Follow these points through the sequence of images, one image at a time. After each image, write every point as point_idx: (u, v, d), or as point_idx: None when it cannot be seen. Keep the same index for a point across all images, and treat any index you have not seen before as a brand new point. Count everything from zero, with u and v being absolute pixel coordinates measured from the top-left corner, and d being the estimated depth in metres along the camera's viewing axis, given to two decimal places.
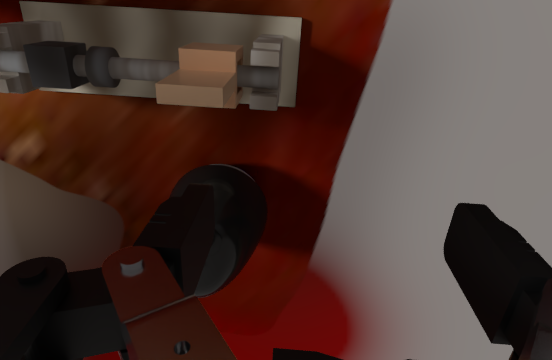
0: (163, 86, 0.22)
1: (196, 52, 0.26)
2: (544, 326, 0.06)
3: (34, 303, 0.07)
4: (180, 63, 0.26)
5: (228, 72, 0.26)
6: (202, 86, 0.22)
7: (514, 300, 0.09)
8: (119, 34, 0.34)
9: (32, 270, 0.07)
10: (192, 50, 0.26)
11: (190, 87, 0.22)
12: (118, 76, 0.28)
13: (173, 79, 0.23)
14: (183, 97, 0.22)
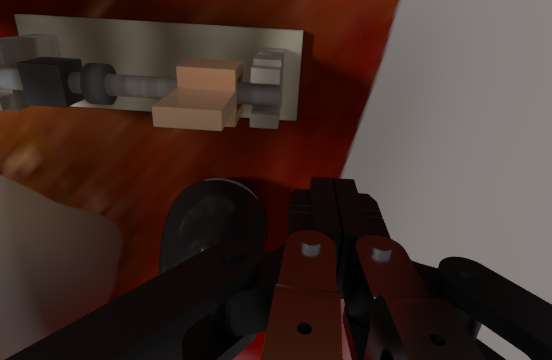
0: (160, 109, 0.21)
1: (194, 70, 0.25)
2: (389, 298, 0.07)
3: (222, 281, 0.08)
4: (178, 81, 0.25)
5: (227, 90, 0.25)
6: (200, 109, 0.21)
7: (344, 257, 0.10)
8: (116, 47, 0.33)
9: (233, 251, 0.08)
10: (190, 68, 0.25)
11: (188, 110, 0.21)
12: (114, 93, 0.27)
13: (170, 100, 0.22)
14: (181, 120, 0.21)
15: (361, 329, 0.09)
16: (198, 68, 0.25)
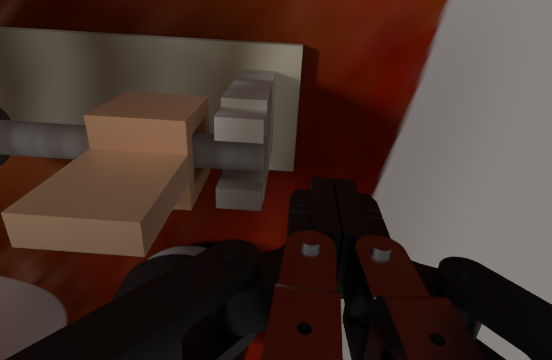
0: (19, 217, 0.11)
1: (115, 121, 0.14)
2: (389, 298, 0.07)
3: (222, 281, 0.08)
4: (90, 139, 0.15)
5: (174, 155, 0.15)
6: (99, 217, 0.11)
7: (344, 257, 0.10)
8: (30, 69, 0.23)
9: (234, 251, 0.08)
10: (108, 118, 0.14)
11: (73, 221, 0.10)
12: None
13: (53, 190, 0.12)
14: (63, 237, 0.11)
15: (361, 329, 0.09)
16: (122, 118, 0.14)
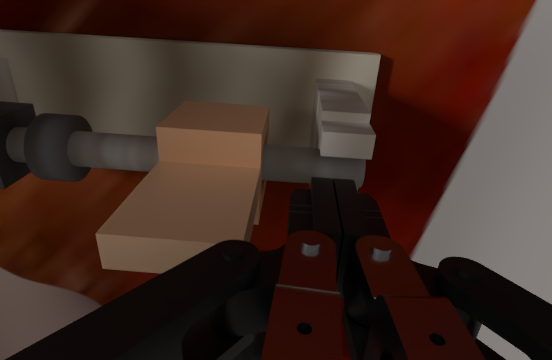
0: (113, 238, 0.10)
1: (188, 134, 0.14)
2: (388, 298, 0.07)
3: (222, 281, 0.08)
4: (160, 152, 0.14)
5: (247, 169, 0.14)
6: (198, 239, 0.10)
7: (344, 257, 0.10)
8: (97, 77, 0.22)
9: (233, 251, 0.08)
10: (181, 130, 0.14)
11: (171, 243, 0.10)
12: (85, 165, 0.16)
13: (139, 208, 0.11)
14: (157, 259, 0.10)
15: (361, 329, 0.09)
16: (195, 130, 0.14)
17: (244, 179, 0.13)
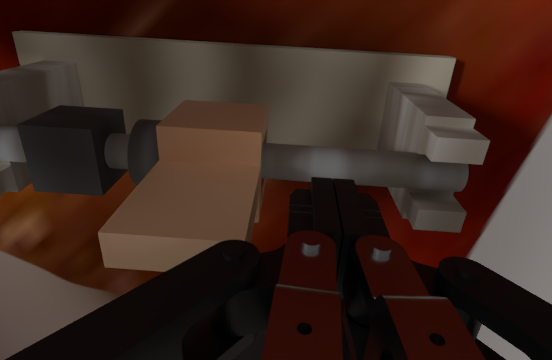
0: (116, 237, 0.10)
1: (188, 133, 0.14)
2: (388, 298, 0.07)
3: (222, 281, 0.08)
4: (160, 151, 0.14)
5: (247, 167, 0.14)
6: (200, 237, 0.10)
7: (344, 257, 0.10)
8: (166, 81, 0.22)
9: (233, 251, 0.08)
10: (181, 129, 0.14)
11: (174, 241, 0.10)
12: None
13: (141, 206, 0.11)
14: (160, 257, 0.10)
15: (361, 329, 0.09)
16: (195, 129, 0.14)
17: (244, 177, 0.13)
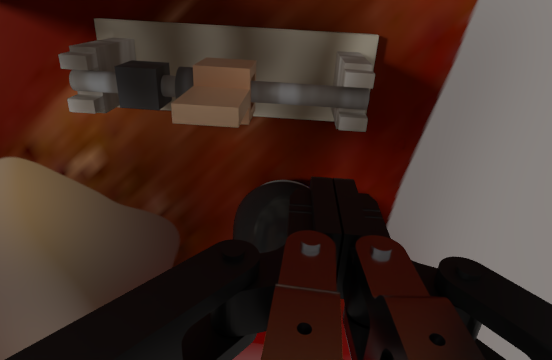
0: (179, 106, 0.22)
1: (210, 69, 0.26)
2: (389, 298, 0.07)
3: (222, 281, 0.08)
4: (194, 80, 0.26)
5: (242, 89, 0.26)
6: (218, 106, 0.22)
7: (344, 257, 0.10)
8: (192, 51, 0.34)
9: (234, 251, 0.08)
10: (206, 67, 0.26)
11: (206, 107, 0.22)
12: None
13: (188, 98, 0.23)
14: (199, 117, 0.22)
15: (361, 329, 0.09)
16: (214, 67, 0.26)
17: (240, 92, 0.25)
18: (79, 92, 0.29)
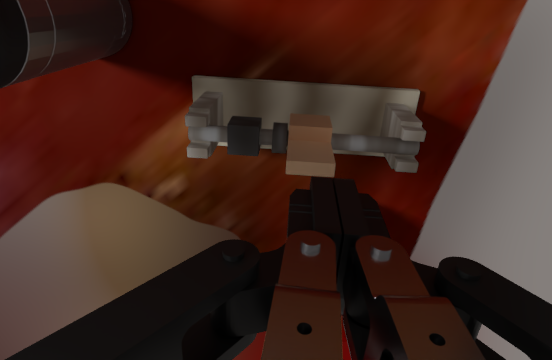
0: (292, 162, 0.30)
1: (302, 128, 0.34)
2: (389, 298, 0.07)
3: (222, 281, 0.08)
4: (289, 135, 0.34)
5: (326, 142, 0.34)
6: (320, 162, 0.30)
7: (344, 257, 0.10)
8: (269, 102, 0.42)
9: (234, 251, 0.08)
10: (299, 126, 0.34)
11: (311, 163, 0.30)
12: None
13: (294, 154, 0.31)
14: (305, 170, 0.30)
15: (361, 329, 0.09)
16: (305, 126, 0.34)
17: (326, 146, 0.33)
18: (192, 141, 0.37)
